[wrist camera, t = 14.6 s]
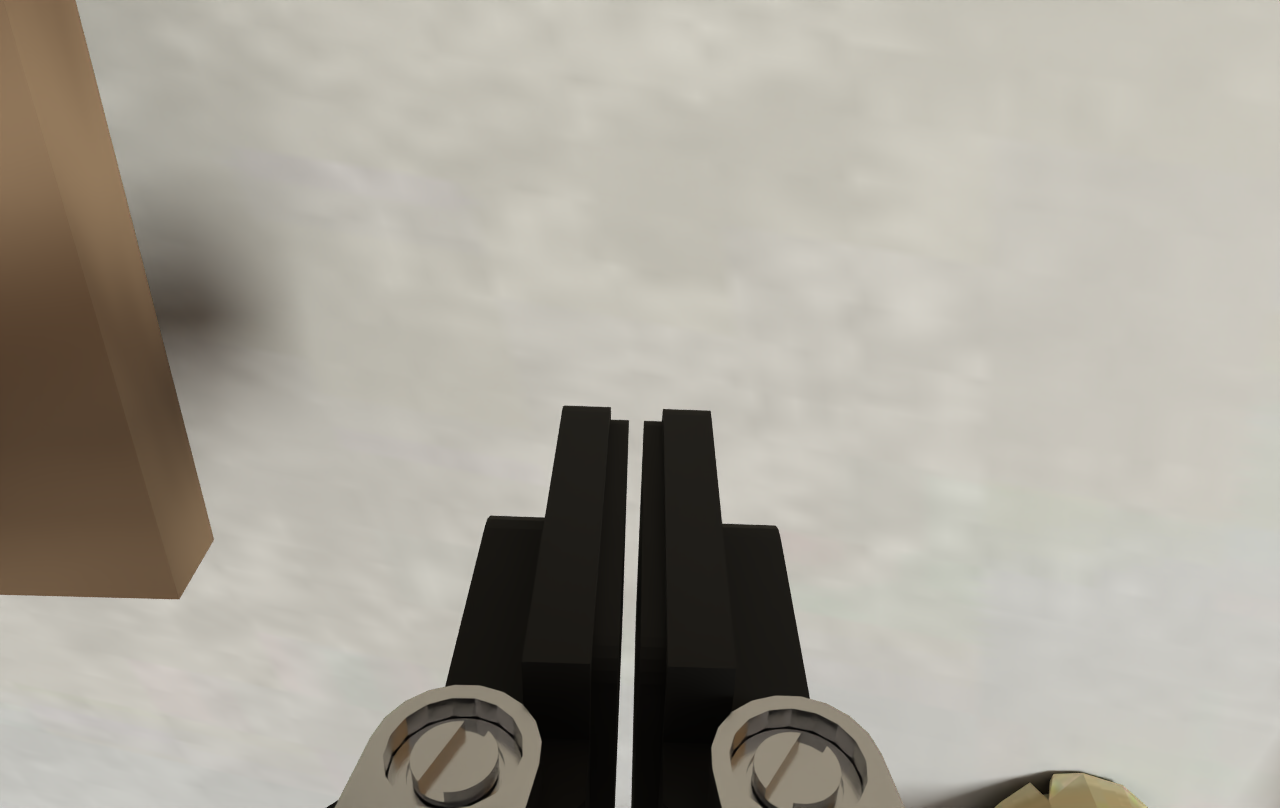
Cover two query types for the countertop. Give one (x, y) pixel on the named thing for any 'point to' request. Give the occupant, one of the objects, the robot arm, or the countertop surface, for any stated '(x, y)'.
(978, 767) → the countertop surface
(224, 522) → the countertop surface
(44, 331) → the slab
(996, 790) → the countertop surface
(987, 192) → the countertop surface
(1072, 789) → the scroll
